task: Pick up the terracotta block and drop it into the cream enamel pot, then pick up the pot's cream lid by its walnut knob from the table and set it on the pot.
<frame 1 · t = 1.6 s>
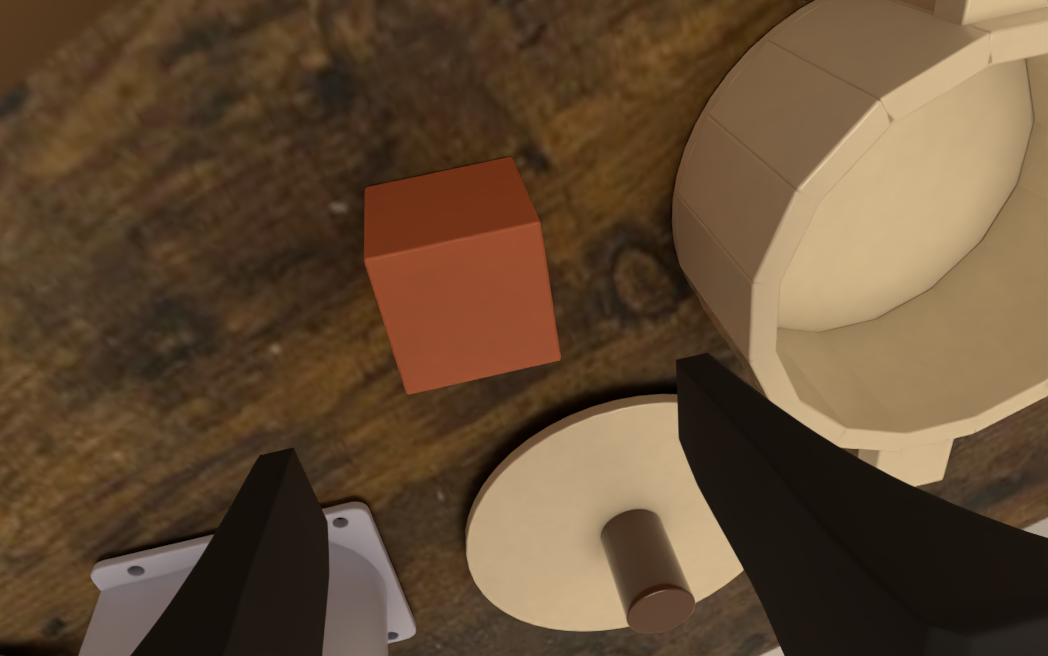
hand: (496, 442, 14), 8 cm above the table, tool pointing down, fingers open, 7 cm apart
pot: (855, 180, 22), on the table
lid: (627, 520, 28), point 1 cm above the table
block: (453, 236, 20), on the table
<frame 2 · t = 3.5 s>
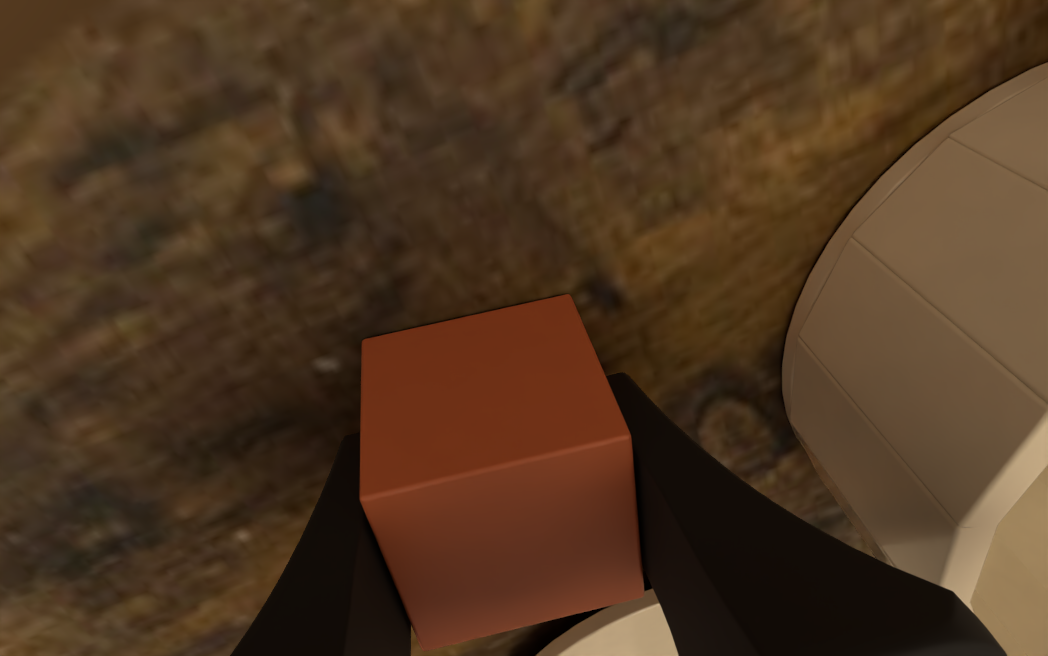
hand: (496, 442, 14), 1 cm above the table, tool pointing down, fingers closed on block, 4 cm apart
pot: (1028, 306, 16), on the table
block: (485, 394, 15), on the table, touching gripper
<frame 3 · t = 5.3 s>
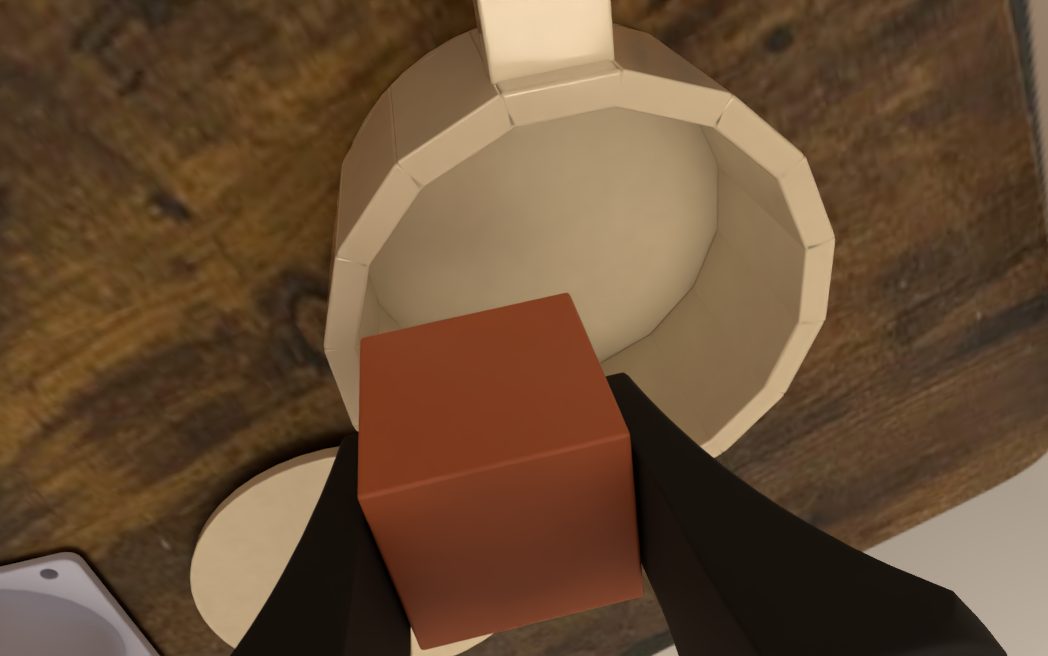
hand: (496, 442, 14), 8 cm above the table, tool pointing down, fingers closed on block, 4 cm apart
pot: (542, 226, 21), on the table
lid: (374, 567, 27), point 1 cm above the table
block: (483, 393, 15), point 7 cm above the table, touching gripper
when the fingers open (4 cm above the table, at t = 7.3 s): block drops 2 cm, resting on pot.
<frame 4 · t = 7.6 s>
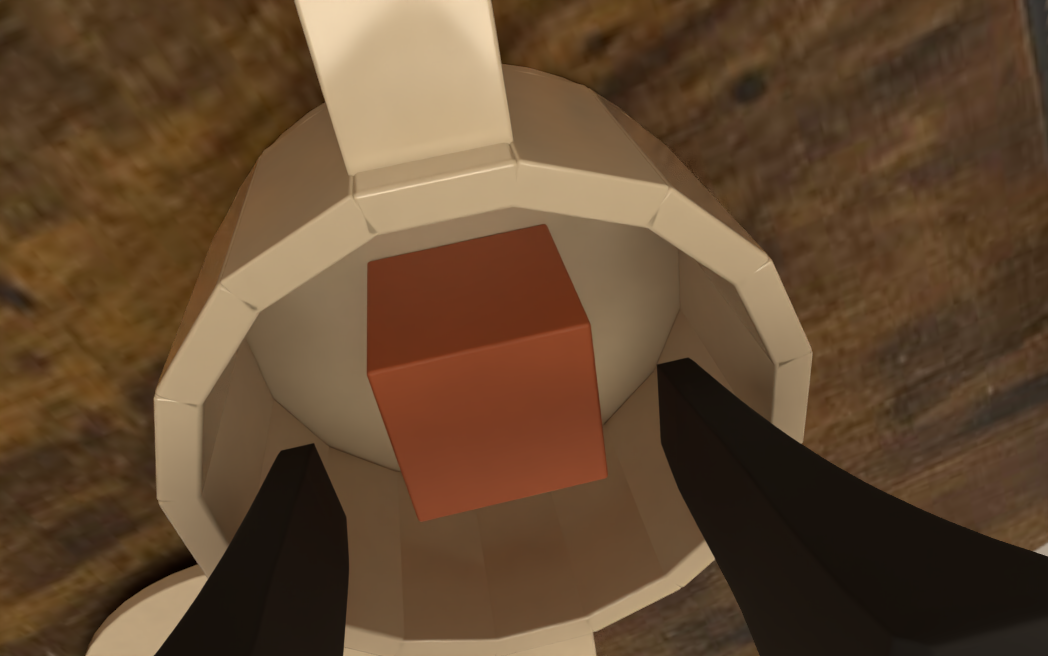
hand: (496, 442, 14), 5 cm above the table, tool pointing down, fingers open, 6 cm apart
pot: (469, 306, 17), on the table
block: (474, 315, 17), resting on pot
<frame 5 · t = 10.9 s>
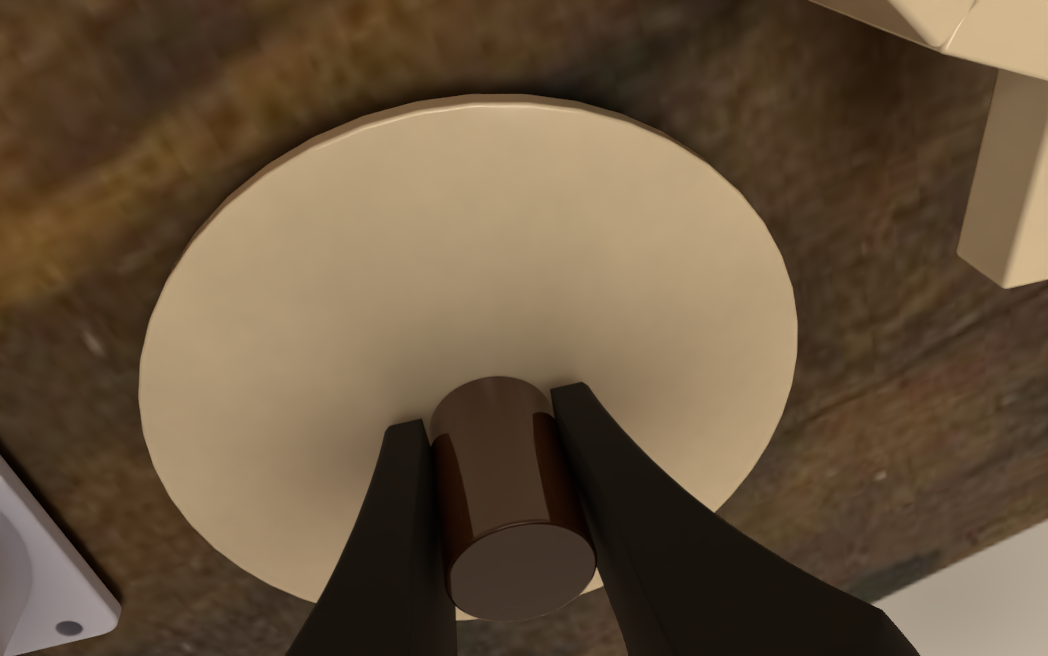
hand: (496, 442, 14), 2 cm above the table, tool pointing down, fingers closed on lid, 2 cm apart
lid: (488, 407, 14), point 1 cm above the table, touching gripper
when the fingers open (6 cm above the table, at t = 14.7 s): lid stays where it is, resting on pot.
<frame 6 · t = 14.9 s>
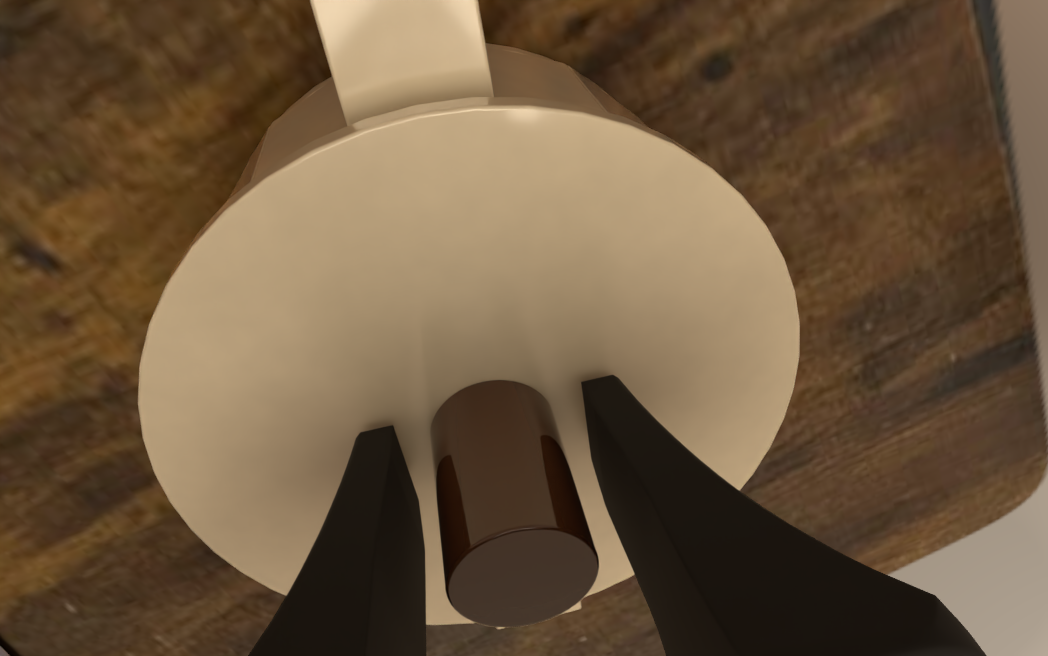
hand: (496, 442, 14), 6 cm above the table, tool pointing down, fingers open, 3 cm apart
pot: (461, 271, 19), on the table
lid: (489, 411, 14), point 5 cm above the table, touching pot
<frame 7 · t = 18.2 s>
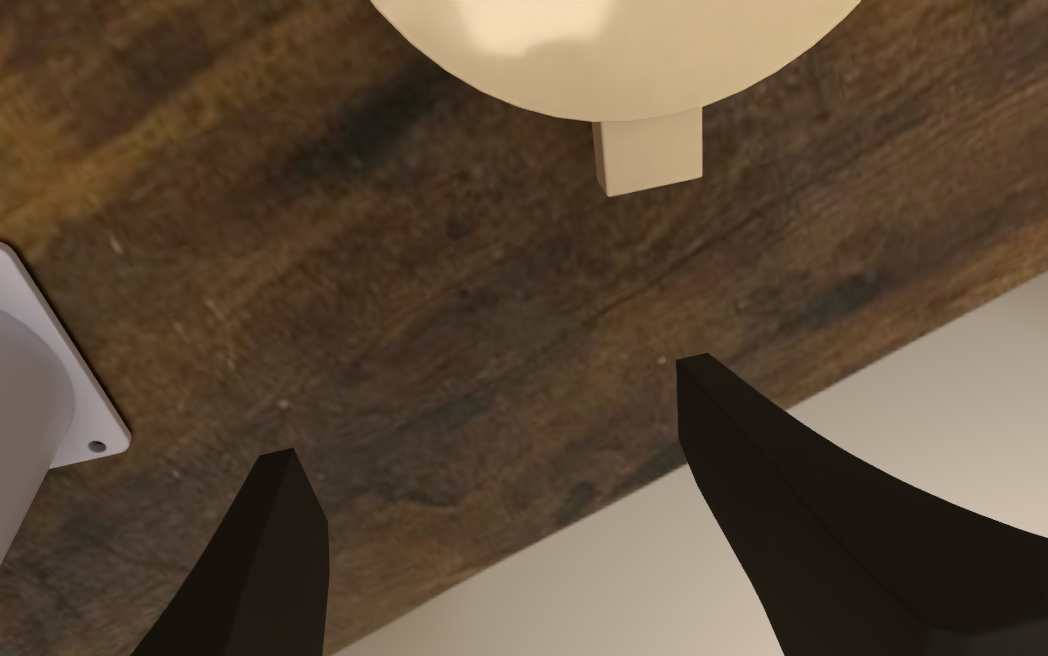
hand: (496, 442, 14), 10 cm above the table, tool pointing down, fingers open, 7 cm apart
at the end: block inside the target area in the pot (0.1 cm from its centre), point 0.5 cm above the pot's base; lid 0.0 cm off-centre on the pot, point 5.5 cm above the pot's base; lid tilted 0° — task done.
